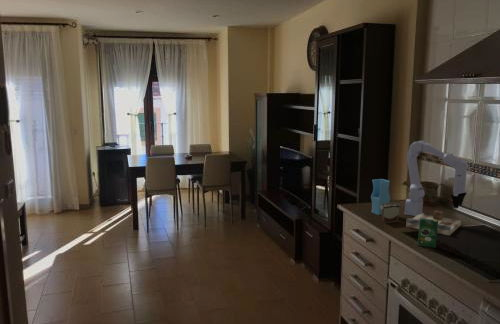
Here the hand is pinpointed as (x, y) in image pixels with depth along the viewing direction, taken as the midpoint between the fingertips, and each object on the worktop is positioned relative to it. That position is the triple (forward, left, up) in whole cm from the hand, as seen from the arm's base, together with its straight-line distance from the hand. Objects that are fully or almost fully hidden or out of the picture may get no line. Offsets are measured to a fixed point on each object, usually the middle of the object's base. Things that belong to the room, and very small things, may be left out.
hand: (457, 206), depth 234 cm
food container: (-31, -23, -9) cm, 39 cm away
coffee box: (-1, -50, -9) cm, 50 cm away
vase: (-41, -10, -9) cm, 43 cm away
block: (-8, -8, -7) cm, 13 cm away
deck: (-8, -16, -9) cm, 20 cm away
